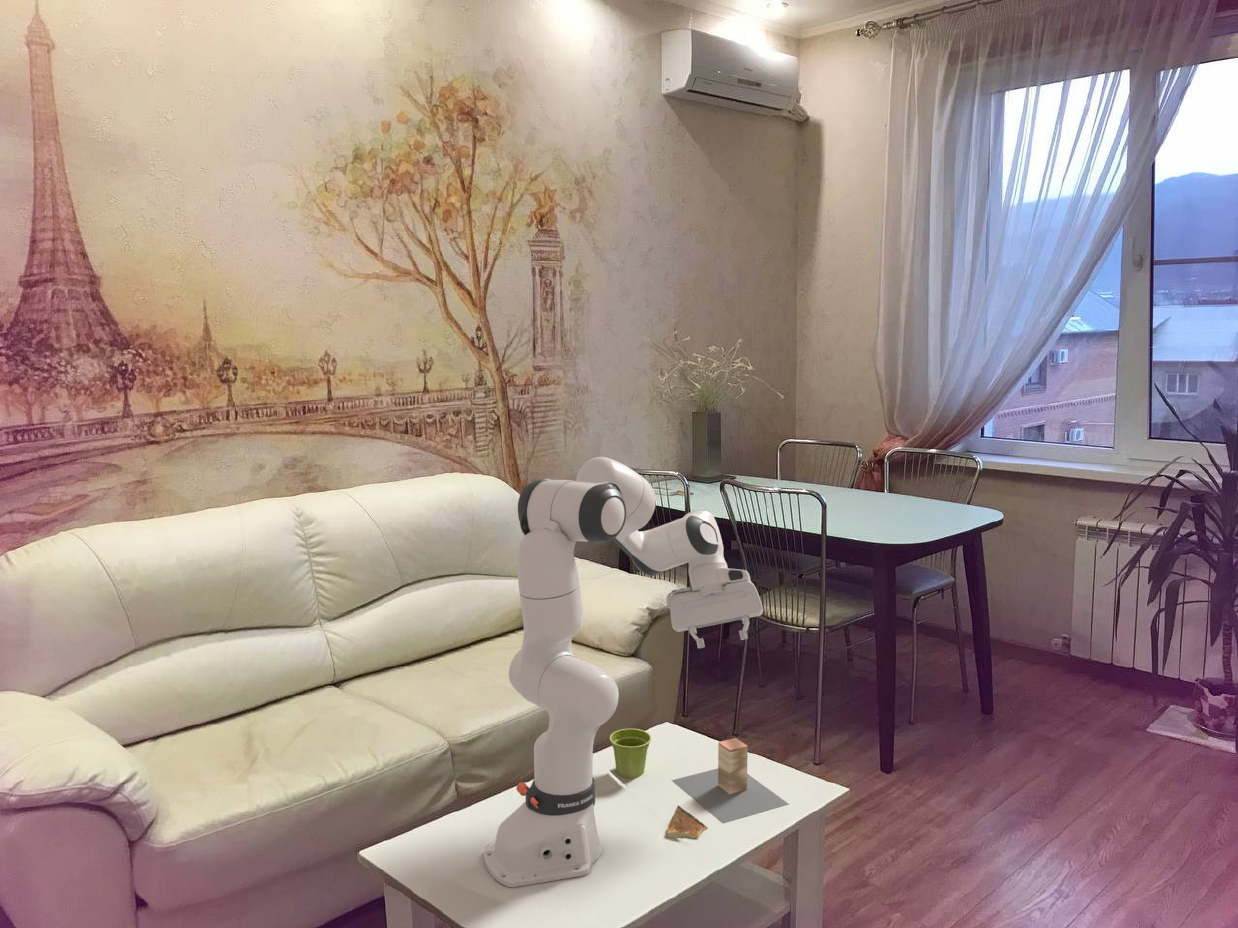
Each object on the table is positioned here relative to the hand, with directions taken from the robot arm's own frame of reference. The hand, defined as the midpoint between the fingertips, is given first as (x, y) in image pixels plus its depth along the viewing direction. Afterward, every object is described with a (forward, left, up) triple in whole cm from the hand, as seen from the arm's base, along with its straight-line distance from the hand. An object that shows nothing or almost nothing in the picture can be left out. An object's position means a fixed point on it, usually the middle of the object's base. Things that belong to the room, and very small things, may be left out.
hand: (722, 643), depth 204 cm
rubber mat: (-2, -6, -32) cm, 32 cm away
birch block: (0, -4, -31) cm, 32 cm away
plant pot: (-16, +13, -32) cm, 38 cm away
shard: (-18, -12, -33) cm, 39 cm away
